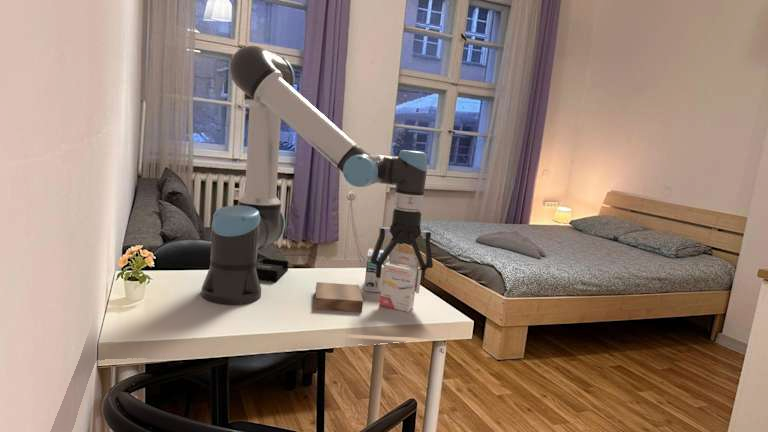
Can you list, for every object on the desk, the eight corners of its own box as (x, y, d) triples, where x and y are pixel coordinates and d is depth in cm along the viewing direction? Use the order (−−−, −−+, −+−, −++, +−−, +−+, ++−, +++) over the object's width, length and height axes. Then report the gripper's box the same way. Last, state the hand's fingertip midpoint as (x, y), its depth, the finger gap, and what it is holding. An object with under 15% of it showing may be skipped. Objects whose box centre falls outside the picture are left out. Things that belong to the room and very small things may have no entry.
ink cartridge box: (378, 306, 142) (384, 253, 140) (384, 301, 147) (390, 250, 144) (408, 312, 139) (415, 258, 137) (413, 307, 144) (420, 255, 142)
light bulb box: (386, 293, 154) (389, 258, 152) (363, 291, 154) (366, 255, 152) (386, 283, 164) (390, 250, 163) (365, 281, 164) (368, 247, 163)
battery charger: (276, 284, 152) (277, 271, 152) (244, 280, 153) (245, 267, 152) (287, 273, 165) (288, 261, 164) (257, 269, 166) (258, 257, 165)
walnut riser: (315, 309, 134) (316, 298, 134) (315, 292, 148) (316, 282, 147) (361, 312, 136) (363, 301, 135) (357, 295, 149) (358, 285, 149)
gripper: (367, 207, 134) (358, 292, 137) (451, 215, 137) (441, 297, 140) (365, 203, 141) (356, 283, 144) (444, 210, 144) (434, 289, 147)
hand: (398, 290), depth 142 cm, fingers closed on ink cartridge box, 9 cm apart
